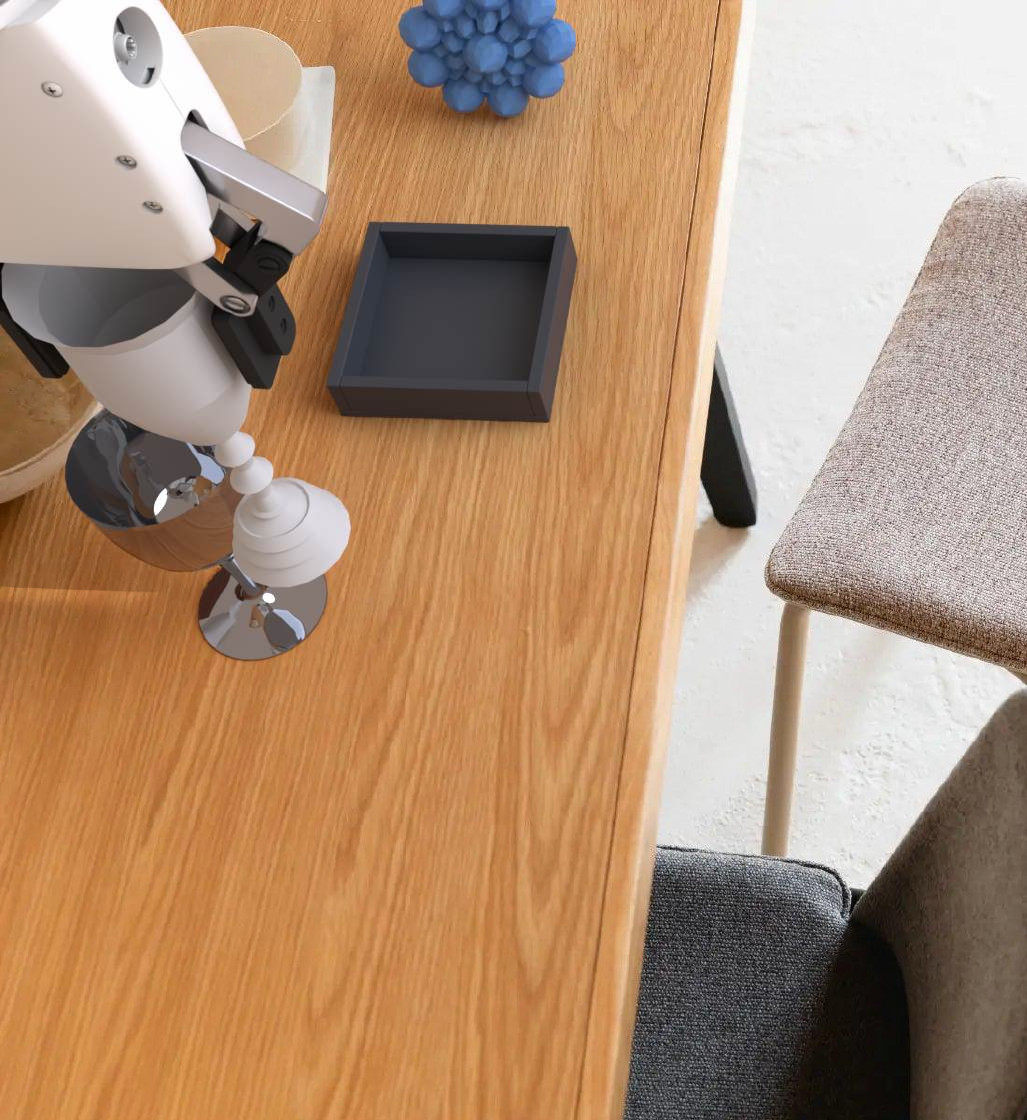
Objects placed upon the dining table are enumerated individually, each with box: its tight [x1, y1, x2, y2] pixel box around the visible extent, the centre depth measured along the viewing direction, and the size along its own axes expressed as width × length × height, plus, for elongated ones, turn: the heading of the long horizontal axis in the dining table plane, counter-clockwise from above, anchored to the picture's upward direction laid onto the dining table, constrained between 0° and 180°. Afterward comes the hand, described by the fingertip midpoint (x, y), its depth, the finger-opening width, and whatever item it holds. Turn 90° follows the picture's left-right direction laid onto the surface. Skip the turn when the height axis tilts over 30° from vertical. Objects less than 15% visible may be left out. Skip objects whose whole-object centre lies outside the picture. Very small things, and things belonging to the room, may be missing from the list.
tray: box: [325, 221, 579, 423], centre depth 91 cm, size 13×13×3 cm
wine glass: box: [64, 407, 328, 662], centre depth 77 cm, size 8×8×15 cm
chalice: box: [2, 235, 352, 587], centre depth 57 cm, size 7×7×18 cm
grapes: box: [397, 0, 577, 119], centre depth 97 cm, size 12×7×12 cm, turn 87°
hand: (168, 348), depth 53 cm, fingers closed on chalice, 6 cm apart
